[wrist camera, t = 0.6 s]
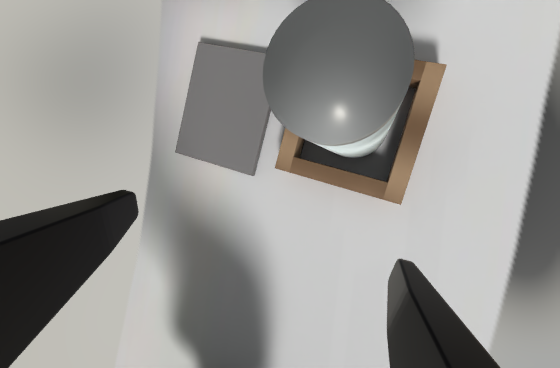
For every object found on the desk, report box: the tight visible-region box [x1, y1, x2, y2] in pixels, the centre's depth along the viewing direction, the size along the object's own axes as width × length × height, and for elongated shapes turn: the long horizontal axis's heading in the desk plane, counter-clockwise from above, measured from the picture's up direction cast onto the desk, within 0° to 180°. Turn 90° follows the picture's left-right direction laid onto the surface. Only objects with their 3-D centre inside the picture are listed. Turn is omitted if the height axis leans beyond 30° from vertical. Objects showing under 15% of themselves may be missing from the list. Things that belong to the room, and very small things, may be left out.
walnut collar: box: [275, 60, 446, 205], centre depth 21 cm, size 9×9×2 cm
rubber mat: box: [175, 42, 271, 176], centre depth 25 cm, size 10×8×1 cm
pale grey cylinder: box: [263, 0, 414, 158], centre depth 16 cm, size 5×5×13 cm
